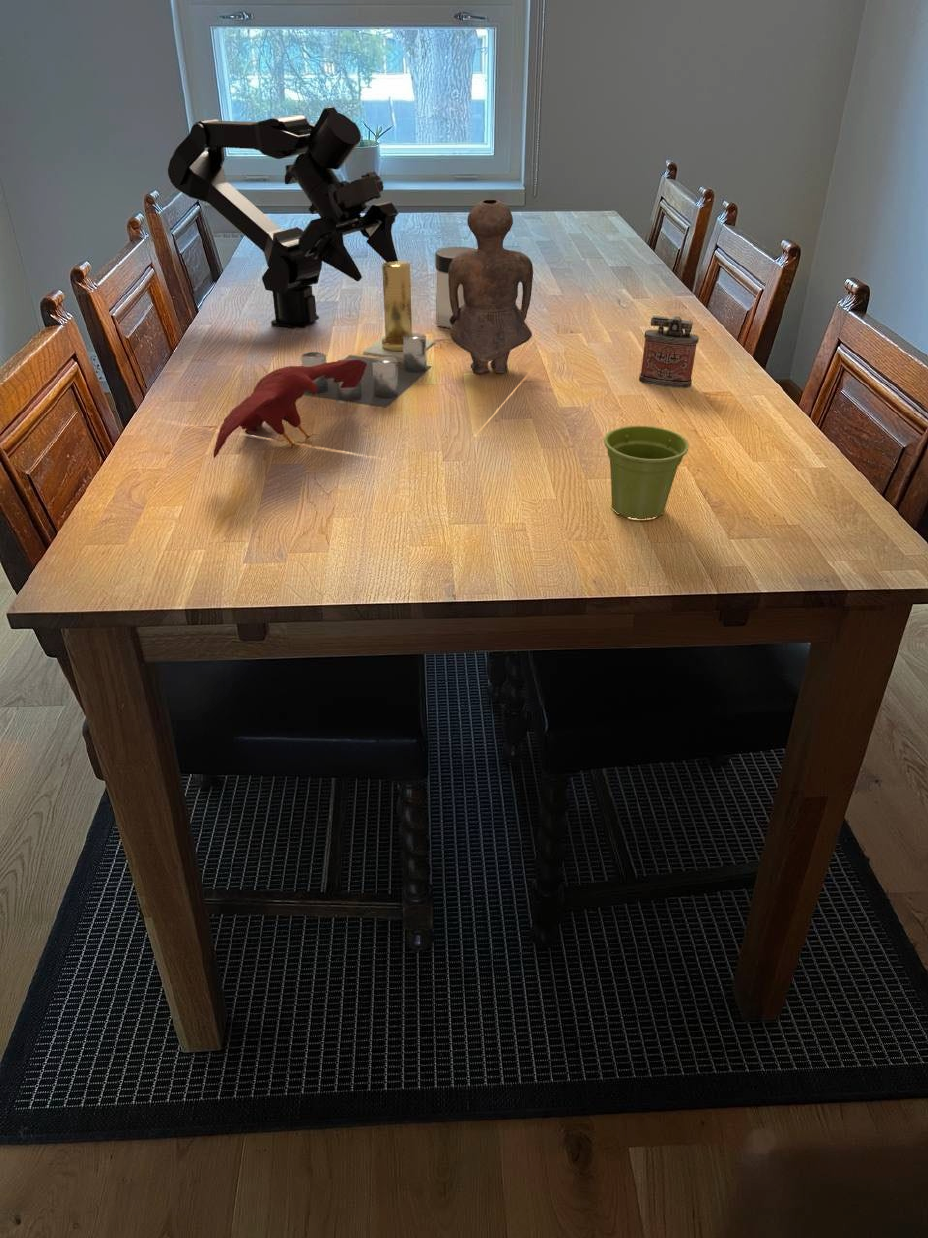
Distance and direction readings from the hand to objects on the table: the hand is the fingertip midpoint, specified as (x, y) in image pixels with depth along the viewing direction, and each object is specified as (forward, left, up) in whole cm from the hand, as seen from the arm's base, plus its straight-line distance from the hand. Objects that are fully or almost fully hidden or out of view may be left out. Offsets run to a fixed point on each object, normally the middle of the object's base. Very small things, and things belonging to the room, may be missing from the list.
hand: (378, 273), depth 147 cm
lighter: (+48, 0, -12) cm, 49 cm away
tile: (+4, -1, -12) cm, 12 cm away
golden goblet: (+4, -1, -11) cm, 12 cm away
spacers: (+5, -16, -11) cm, 20 cm away
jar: (+8, +16, -12) cm, 22 cm away
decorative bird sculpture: (+4, -40, -12) cm, 41 cm away
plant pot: (+52, -42, -12) cm, 67 cm away
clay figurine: (+21, -5, -12) cm, 24 cm away
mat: (+5, -16, -12) cm, 20 cm away
